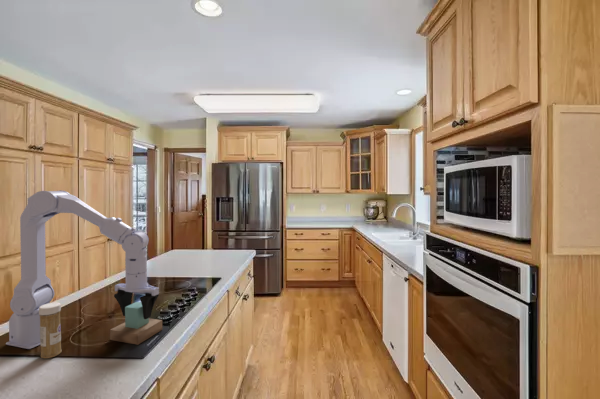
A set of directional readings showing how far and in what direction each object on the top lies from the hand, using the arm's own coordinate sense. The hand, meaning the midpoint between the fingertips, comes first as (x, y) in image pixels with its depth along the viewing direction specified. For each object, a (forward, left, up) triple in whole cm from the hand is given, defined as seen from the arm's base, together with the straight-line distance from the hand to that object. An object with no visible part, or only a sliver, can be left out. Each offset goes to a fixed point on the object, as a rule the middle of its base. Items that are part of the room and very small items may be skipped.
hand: (136, 316), depth 96 cm
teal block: (0, 0, -3) cm, 3 cm away
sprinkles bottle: (-13, -16, -6) cm, 21 cm away
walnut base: (0, 0, -6) cm, 6 cm away
